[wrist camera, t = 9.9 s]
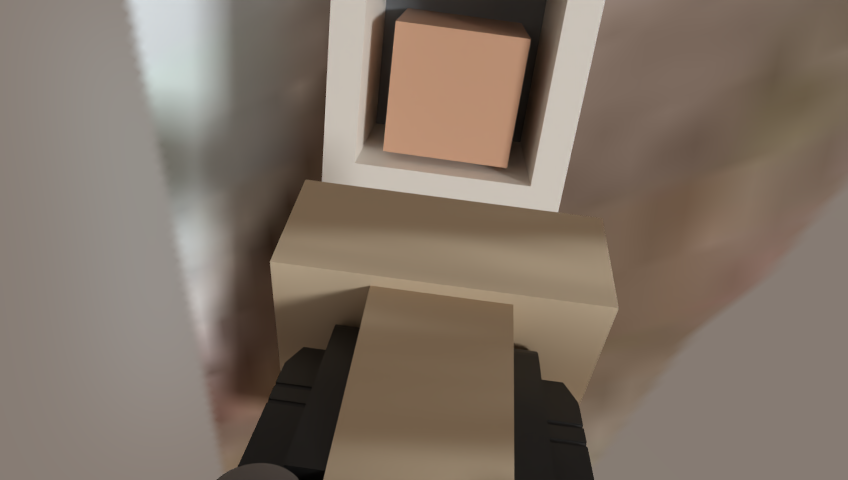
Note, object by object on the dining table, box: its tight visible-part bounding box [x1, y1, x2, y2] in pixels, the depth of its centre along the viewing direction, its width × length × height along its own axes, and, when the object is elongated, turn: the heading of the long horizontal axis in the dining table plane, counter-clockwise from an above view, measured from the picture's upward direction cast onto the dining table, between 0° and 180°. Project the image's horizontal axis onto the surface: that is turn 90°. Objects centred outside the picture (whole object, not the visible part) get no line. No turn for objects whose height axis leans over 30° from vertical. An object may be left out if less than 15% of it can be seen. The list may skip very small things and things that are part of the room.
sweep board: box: [322, 0, 605, 212], centre depth 24 cm, size 20×8×5 cm, turn 173°
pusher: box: [270, 180, 619, 480], centre depth 11 cm, size 3×6×8 cm, turn 84°
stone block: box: [383, 8, 531, 168], centre depth 21 cm, size 4×4×4 cm
